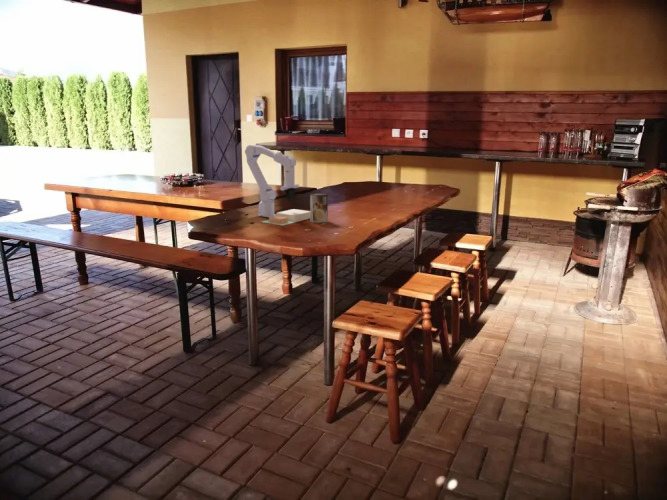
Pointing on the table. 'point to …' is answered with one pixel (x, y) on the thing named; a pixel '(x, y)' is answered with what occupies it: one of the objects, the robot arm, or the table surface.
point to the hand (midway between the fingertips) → (290, 201)
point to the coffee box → (318, 208)
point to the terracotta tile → (278, 219)
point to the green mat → (279, 223)
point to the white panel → (295, 215)
